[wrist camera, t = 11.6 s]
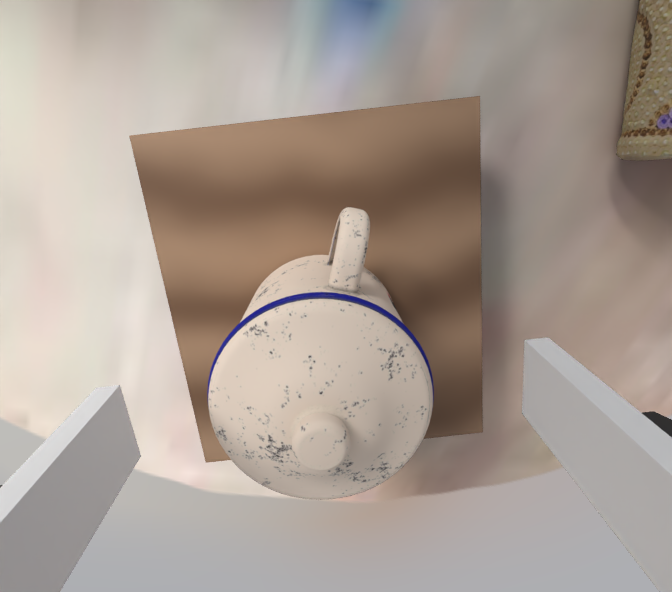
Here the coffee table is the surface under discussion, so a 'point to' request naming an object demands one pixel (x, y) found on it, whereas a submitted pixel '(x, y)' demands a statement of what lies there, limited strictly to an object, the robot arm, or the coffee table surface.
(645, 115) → the decorative bottle
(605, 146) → the coffee table surface
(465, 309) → the walnut stand
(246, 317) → the teacup with lid
